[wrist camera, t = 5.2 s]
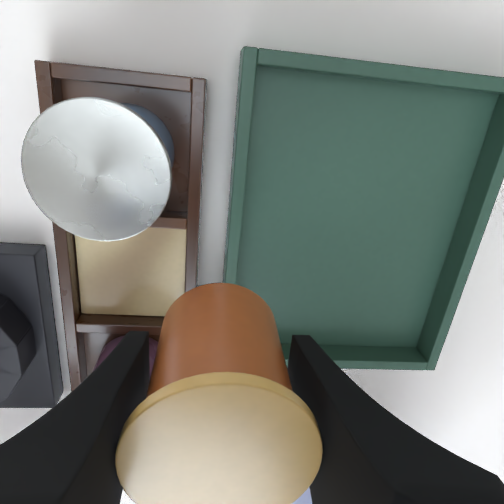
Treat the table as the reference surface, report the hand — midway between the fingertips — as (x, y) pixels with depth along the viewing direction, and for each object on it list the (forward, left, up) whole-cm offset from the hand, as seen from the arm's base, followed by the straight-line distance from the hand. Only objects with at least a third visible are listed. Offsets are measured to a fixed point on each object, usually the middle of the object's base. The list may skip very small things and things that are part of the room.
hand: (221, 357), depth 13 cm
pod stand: (+5, +1, -9) cm, 10 cm away
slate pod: (+5, -5, -9) cm, 11 cm away
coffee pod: (0, 0, -1) cm, 1 cm away
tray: (-7, -2, -9) cm, 11 cm away
